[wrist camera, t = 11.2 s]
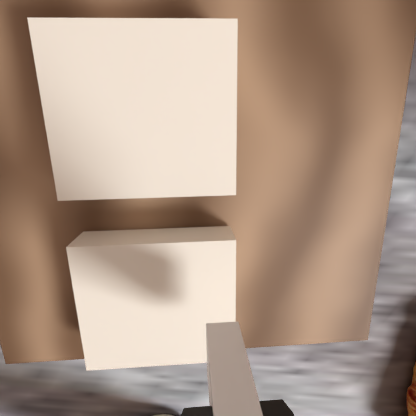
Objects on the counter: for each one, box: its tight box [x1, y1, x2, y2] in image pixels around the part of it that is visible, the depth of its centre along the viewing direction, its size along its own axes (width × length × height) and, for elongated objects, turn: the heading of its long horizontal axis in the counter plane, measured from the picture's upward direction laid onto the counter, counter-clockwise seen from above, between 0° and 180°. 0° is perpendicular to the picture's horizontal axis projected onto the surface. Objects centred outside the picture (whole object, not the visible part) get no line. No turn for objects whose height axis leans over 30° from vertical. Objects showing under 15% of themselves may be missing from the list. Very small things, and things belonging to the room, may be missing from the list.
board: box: [0, 0, 416, 364], centre depth 18 cm, size 26×22×2 cm
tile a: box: [27, 18, 238, 201], centre depth 14 cm, size 3×8×9 cm
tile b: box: [66, 226, 236, 371], centre depth 17 cm, size 3×8×9 cm
